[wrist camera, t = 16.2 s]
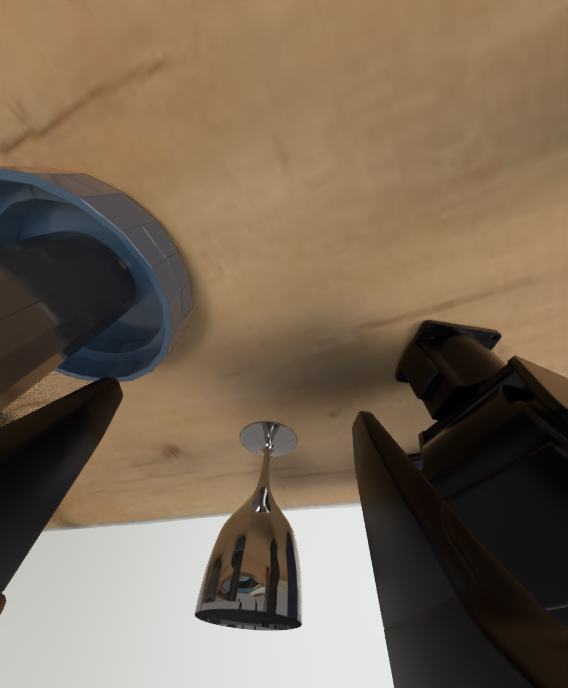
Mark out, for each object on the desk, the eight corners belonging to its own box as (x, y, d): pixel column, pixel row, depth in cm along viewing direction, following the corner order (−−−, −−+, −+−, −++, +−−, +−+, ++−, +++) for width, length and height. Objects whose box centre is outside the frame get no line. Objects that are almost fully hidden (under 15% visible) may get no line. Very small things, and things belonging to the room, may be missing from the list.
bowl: (187, 190, 16) (153, 194, 12) (199, 359, 24) (181, 393, 20) (-40, 151, 15) (-150, 143, 11) (50, 338, 23) (3, 369, 19)
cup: (101, 220, 16) (-232, 293, 6) (151, 310, 20) (-3, 450, 10) (19, 241, 17) (-382, 334, 7) (82, 323, 21) (-124, 462, 11)
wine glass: (229, 421, 29) (177, 606, 16) (296, 417, 28) (295, 611, 15) (245, 459, 33) (213, 627, 21) (303, 457, 32) (306, 632, 20)
